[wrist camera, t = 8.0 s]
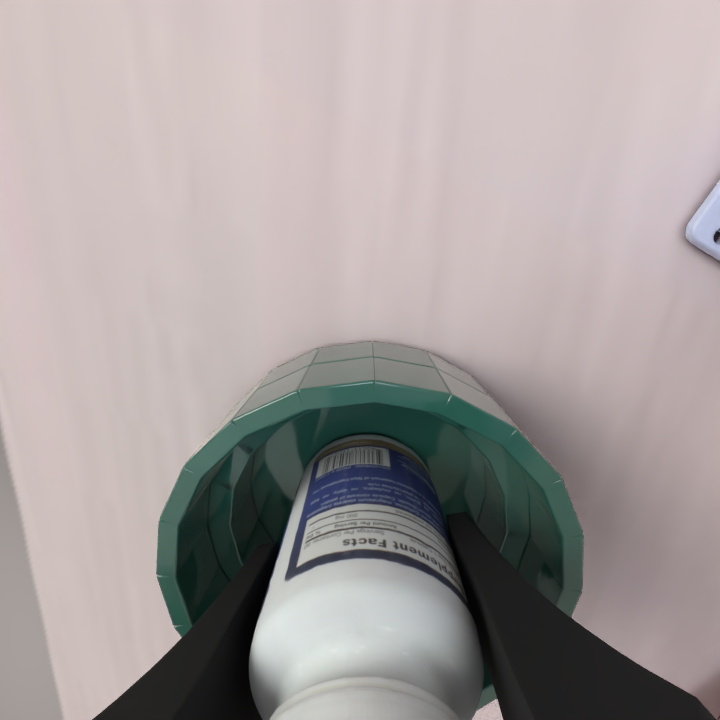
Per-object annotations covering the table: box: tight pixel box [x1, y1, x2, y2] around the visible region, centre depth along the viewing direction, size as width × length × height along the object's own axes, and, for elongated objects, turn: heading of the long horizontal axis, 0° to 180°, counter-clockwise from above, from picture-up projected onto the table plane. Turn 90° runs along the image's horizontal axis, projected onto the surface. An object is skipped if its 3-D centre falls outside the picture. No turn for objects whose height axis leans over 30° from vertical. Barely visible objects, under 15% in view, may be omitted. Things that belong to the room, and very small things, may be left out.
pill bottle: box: [249, 434, 484, 720], centre depth 11 cm, size 5×5×10 cm
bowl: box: [156, 341, 584, 711], centre depth 13 cm, size 12×12×5 cm
